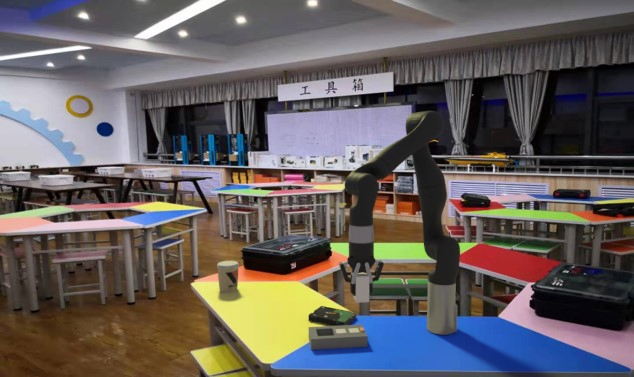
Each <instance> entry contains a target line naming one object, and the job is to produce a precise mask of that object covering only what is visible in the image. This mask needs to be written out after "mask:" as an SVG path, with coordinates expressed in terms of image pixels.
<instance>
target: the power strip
mask: <svg viewBox="0 0 634 377" xmlns="http://www.w3.org/2000/svg"><path fill="white" fill-rule="evenodd" d="M308 341H309V345H310V351H312V350H313V351H314V350H315V351H316V350H329V349H330V350H331V349H332V350H333V349H348V348H349V349H352V348H367V347H368V335H367V332H366V330H365V329H364V326H363V325H362V324H349V325H341V326H332V325H327V326H326V325H325V326H311V327H310V326H309V327H308Z"/></svg>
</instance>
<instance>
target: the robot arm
mask: <svg viewBox="0 0 634 377" xmlns="http://www.w3.org/2000/svg"><path fill="white" fill-rule="evenodd" d="M444 128H445V121H444V117H443V116H442V115H441V113H439V112H438V111H435V110H425V111H418V112H412V113H411V114H409V115H408V116H407V117H406V120H405V133H406V135H404V136H403V137H402V138H400V139H398V140H396V141H395V142H393V143H390V144H388V146H386V147H384V148H383V149H382V150H380V152H378V153H377V154H376V155H375V156H373V158H372V159H371V160H370V161H368V162H366V163H364V164H362V165H361V166H359V167H357V168H356V169H354V170H353V171H351V172H350V173H349V174H348V175H347V177H346V178H345V181H344V189H345V191H346V192H347V194H349V195H351V196H354V197H355V196H356V197H357V201H356V204H352V205H351V206H350V207H349V214H348V215H349V217H348V218H349V221H348V222H349V226H348V227H349V228H348V257H347V259H346V260H344V261H339V262H338V266H339V269H340V271H341V274H342V277H343V279H344V282H345V283H349V291H350V294H352V296H353V297H354V296H355V295H356V284H355V281H356V276H357V275H358V273H361V272H363V273H366V274H367V276H369V296H370V295H372V293H373V283H374V282H376V281H377V282H378V281H379V279H380V277H381V274H382V272H383V268H384V266H385V264H384V262H383V261H382V260H381V259H379V260H378V259H376V258H375V252H374V251H375V248H374V247H375V244H374V243H375V242H374V241H375V231H374V209H375V206H376V205H375V204H376V201H377V197H378V193H379V182H378V181H380V180H384V179H386V178H387V177H389V175H391V174H392V173H393V172H394V171H396V169H397V168H398V167H399V166H400V165H401V164H402V163H403V162H405V161H406V160H407V159H409V158H410V157H412V162H413V167H414V174H415V179H416V187H417V194H418V198H419V199H418V200H419V206H420V213H421V219H422V220H421V221H422V235H423V247H424V248H423V249H424V252H425V254H426V256H427V257H428V258H430V259H432V260H434V261H435V269H432V270H430V271H428V274H427V304H426V305H427V306H426V308H427V309H426V310H427V311H426V313H427V314H426V329H427V330H428V332H430V333H432V334H435V335H442V336H443V335H444V336H447V335H451V334H453V333H457V332H458V331H457V330H458V304H457V303H456V290H457V289H456V286H457V285H456V282H457V281H456V280H457V277H458V275H459V270H460V260H461V246H460V243H459V241H458V240H457V239H456V238H454V237H452V236H449V235H445V233H444V229H443V222H442V221H443V220H442V216H443V211H444V209H445V206H446V203H447V197H448V192H447V184H446V179H445V176H444V173H443V171H442V170H441V168H440V167H439V165H438V164H437V162H436V161H435V158H434V157H433V156H432V154H431V151H430V147H429V143H431V142H432V141H435V140H436V139H437V138H438V137H439V136H440V135H442V133H443V130H444ZM348 265H349V267H350V268H351V272H350V277H349V276H348V272H347V269H348ZM373 266H375V269H374V272H373V275H372V272H371V269H372V268H373Z"/></svg>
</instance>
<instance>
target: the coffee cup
mask: <svg viewBox="0 0 634 377" xmlns="http://www.w3.org/2000/svg"><path fill="white" fill-rule="evenodd" d="M239 265H240V264H239V262H238V261H236V260H223V261H219V262H218V263H217V264H216V267H217V279H218V285H219V286H218V287H219V291H220V292H221V293H233V292H236V291H238V286H239V284H238V283H239V282H238V280H239Z"/></svg>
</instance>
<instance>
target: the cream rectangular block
mask: <svg viewBox="0 0 634 377" xmlns="http://www.w3.org/2000/svg"><path fill="white" fill-rule="evenodd" d="M355 284H356V295H355V296H353V299H354V301H355V303H356V304H359V303H369V302H370V295H369V276H367V274H366V273H363V272H361V273H358V275H357V276H356V281H355Z"/></svg>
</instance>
